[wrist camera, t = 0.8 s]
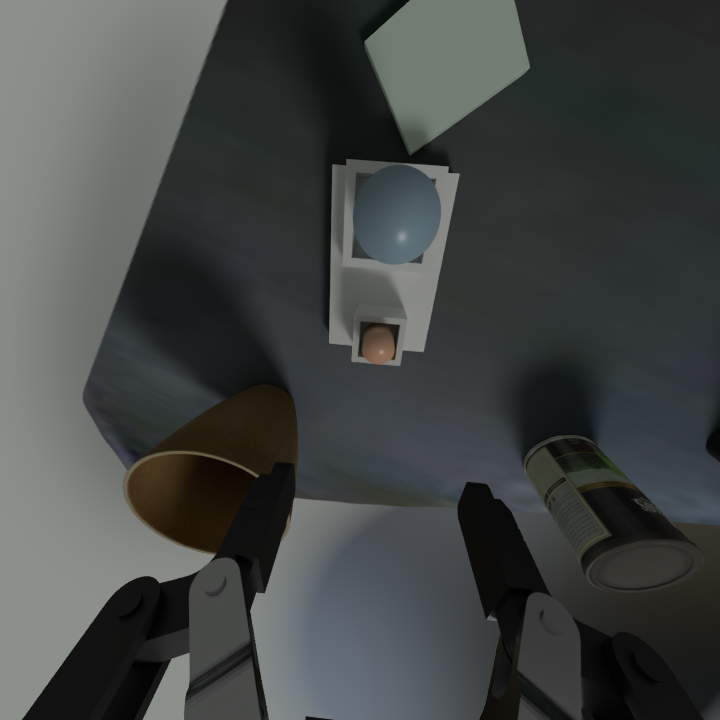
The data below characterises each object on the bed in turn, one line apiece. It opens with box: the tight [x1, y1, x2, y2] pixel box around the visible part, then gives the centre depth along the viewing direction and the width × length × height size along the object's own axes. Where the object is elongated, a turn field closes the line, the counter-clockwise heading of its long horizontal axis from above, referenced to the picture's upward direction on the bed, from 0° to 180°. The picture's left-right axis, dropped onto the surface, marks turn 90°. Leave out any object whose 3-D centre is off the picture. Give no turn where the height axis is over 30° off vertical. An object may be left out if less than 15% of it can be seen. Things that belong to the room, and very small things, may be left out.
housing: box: [329, 159, 459, 366], centre depth 26 cm, size 11×17×6 cm, turn 176°
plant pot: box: [123, 384, 298, 555], centre depth 31 cm, size 15×15×16 cm
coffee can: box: [523, 435, 705, 594], centre depth 33 cm, size 10×10×14 cm
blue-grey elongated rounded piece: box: [353, 165, 441, 265], centre depth 20 cm, size 5×5×10 cm
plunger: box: [362, 322, 395, 364], centre depth 25 cm, size 3×3×4 cm
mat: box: [364, 0, 530, 156], centre depth 20 cm, size 10×8×1 cm
